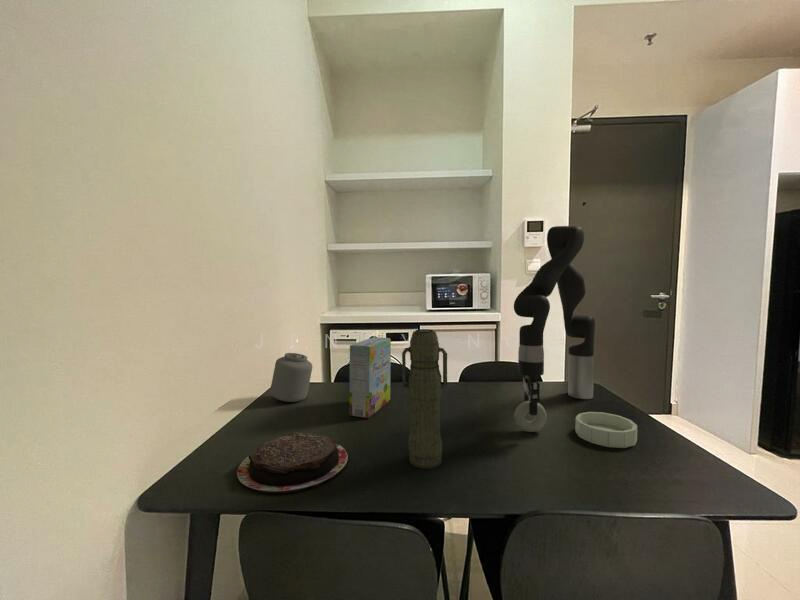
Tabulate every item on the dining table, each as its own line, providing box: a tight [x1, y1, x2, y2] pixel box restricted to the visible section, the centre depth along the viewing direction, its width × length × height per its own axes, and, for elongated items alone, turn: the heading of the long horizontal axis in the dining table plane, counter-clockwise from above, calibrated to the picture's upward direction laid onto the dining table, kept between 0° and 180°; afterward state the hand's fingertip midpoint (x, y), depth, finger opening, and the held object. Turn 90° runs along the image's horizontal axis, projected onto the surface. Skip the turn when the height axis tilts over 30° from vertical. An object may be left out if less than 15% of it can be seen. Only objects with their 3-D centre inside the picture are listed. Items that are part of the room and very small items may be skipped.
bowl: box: [574, 411, 638, 449], centre depth 112 cm, size 16×16×4 cm
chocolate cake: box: [236, 432, 349, 494], centre depth 97 cm, size 28×28×7 cm
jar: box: [269, 338, 313, 403], centre depth 150 cm, size 19×15×25 cm
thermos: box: [401, 328, 448, 469], centre depth 98 cm, size 9×12×35 cm
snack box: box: [348, 336, 392, 419], centre depth 139 cm, size 22×9×26 cm, turn 161°
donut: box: [513, 401, 548, 433], centre depth 116 cm, size 10×4×10 cm, turn 88°
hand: (530, 409), depth 116 cm, fingers open, 8 cm apart
